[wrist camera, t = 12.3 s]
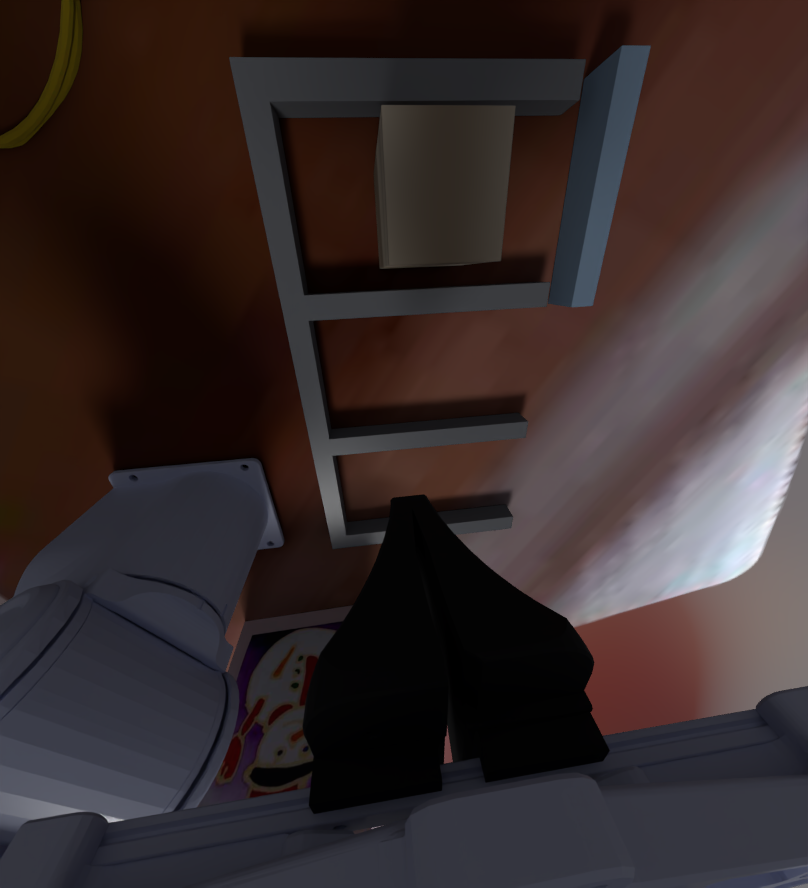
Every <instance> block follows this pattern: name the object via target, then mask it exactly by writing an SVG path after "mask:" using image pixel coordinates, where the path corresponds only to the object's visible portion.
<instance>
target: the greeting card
mask: <svg viewBox="0 0 808 888" xmlns="http://www.w3.org/2000/svg"><path fill="white" fill-rule="evenodd" d="M352 606H353V605H352ZM352 606H345V607H338V608H332V609H325V610H319V611H312V612H305V613H299V614H292V615H285V616H279V617H272V618H266V619H259V620H252V621H246V622H245V623H244V626H243V629H242V632H241V635H240V638H239V641H238V644H237V647H236V649H235V652H234V655H233V658H232V661H231V664H230V667H229V670H228V673H229V674H230V675H232V676H233V678H234V679H235V681H236V683H237V686H238V690H239V709H238V716H237V721H236V725H235V729H234V733H233V736H232V739H231V742H230V745H229V748H228V750H227V753H226V756H225V758H224V760H223V763H222V765H221V767H220V769H219V771H218V773H217V775H216V777H215V779H214V781H213V782H212V784H211V786H210V787H209V789H208V791H207V792H206V794H205V796H204V797H203V799H202V800H201V802H200V803H199V805H198V806H197V807H202V806H207V805H213V804H219V803H224V802H230V801H236V800H241V799H247V798H253V797H258V796H264V795H270V794H275V793H281V792H287V791H292V790H298V789H304V788H310V786H311V777H312V767H313V757H314V756H313V754H312V752H311V750H310V747H309V745H308V743H307V741H306V738H305V736H304V734H303V727H302V725H303V718H304V710H305V703H306V697H307V693H308V689H309V685H310V681H311V678H312V675H313V672H314V669H315V666H316V663H317V661H318V658H319V655H320V653H321V651H322V650H323V649H324V647H325V646H326V645H327V643H328V642H329V640H330V639H331V638H332V636H333V635H334V634H335V632H336V631H337V629H338V628H339V627H340V625H341V624H342V622H343V621H344V619H345V617H346V616H347V614H348V613H349V611H350V609H351V608H352ZM368 830H371V828H367V829H361V830H356V831H353V832H354V834H358V833H361V832H364V831H368Z"/></svg>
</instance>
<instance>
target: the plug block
mask: <svg viewBox="0 0 808 888" xmlns="http://www.w3.org/2000/svg"><path fill="white" fill-rule="evenodd" d="M515 107H516V106H492V105H381V112H380V121H379V130H378V139H377V148H376V157H375V166H374V187H375V203H376V218H377V234H378V250H379V266H380V269H386V268H412V267H437V266H456V265H466V264H476V263H486V262H496V261H501V254H502V243H503V233H504V222H505V212H506V201H507V191H508V180H509V170H510V159H511V149H512V138H513V128H514V117H515Z"/></svg>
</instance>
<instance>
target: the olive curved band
mask: <svg viewBox="0 0 808 888" xmlns="http://www.w3.org/2000/svg"><path fill="white" fill-rule="evenodd" d="M82 34H83V28H82V15H81V4H80V0H61V20H60V34H59V39H58V45H57V51H56V57H55V61H54V64H53V67H52V70H51V73H50V76H49V80H48V82H47V84H46V86H45V89H44V91H43V93H42V95H41V97H40V99H39V101H38V102H37V104H36V105H35V106H34V108H33V109H32V111H31V112H30V113H29V115H28V116H27V117H26V118H25V119H24V120H23V121H22V122H21V123H20V124H19V125H17V126H16V127H15V128H14V129H12V130H10V131H9V132H7V133H5V134H3V135H1V136H0V148H13V147H17V146H21V145H23V144H25V143H26V142H27V141H28V140H29V139H30V138H31V137H32V136H33V135H34V134H35V133H36V132H37V131H38V130H39V129H40V128H41V127H42V126H43V124H44V123H45V122H46V121H47V120H48V119H49V118H50V117H51V116H52V115H53V113H54V112H55V110H56V109H57V108H58V106H59V105H60V104H61V103H62V101H63V100H64V99H65V97H66V95H67V94H68V92H69V90H70V88H71V86H72V84H73V81H74V79H75V76H76V74H77V71H78V67H79V63H80V58H81V52H82Z"/></svg>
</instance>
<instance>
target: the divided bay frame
mask: <svg viewBox="0 0 808 888" xmlns="http://www.w3.org/2000/svg"><path fill="white" fill-rule="evenodd" d="M650 47H651V46H621V47H620V48H619V49H618V50H616V51H615V52H614V53H613V54H612V55H611V56H610V57H609V58H607V59H606V60H605V61H604V62H603V63H602V64H601V65H599V66H598V67H597V68H596V69H595V70H594V71H593V72H592V73H590V74H589V75H588V76H587V77H586V78H585V79H584V84H583V90H582V96H581V102H580V108H579V115H578V121H577V127H576V133H575V140H574V146H573V152H572V158H571V164H570V171H569V177H568V183H567V189H566V196H565V202H564V208H563V214H562V220H561V227H560V233H559V239H558V245H557V251H556V258H555V264H554V270H553V276H552V283H551V289H550V295H549V301H548V304H555V305H561V306H567V307H581V306H593V302H594V297H595V293H596V288H597V284H598V279H599V275H600V270H601V266H602V262H603V257H604V253H605V248H606V244H607V239H608V235H609V230H610V226H611V221H612V217H613V212H614V208H615V203H616V199H617V194H618V190H619V185H620V181H621V176H622V172H623V167H624V163H625V159H626V154H627V150H628V145H629V141H630V136H631V132H632V127H633V123H634V118H635V114H636V109H637V105H638V100H639V96H640V91H641V87H642V82H643V78H644V73H645V69H646V65H647V60H648V56H649V51H650ZM229 59H230V64H231V69H232V73H233V78H234V83H235V88H236V92H237V97H238V102H239V107H240V111H241V116H242V121H243V126H244V130H245V135H246V140H247V145H248V149H249V154H250V159H251V164H252V168H253V173H254V178H255V183H256V187H257V192H258V197H259V202H260V206H261V211H262V216H263V221H264V225H265V230H266V235H267V240H268V244H269V249H270V254H271V259H272V263H273V268H274V273H275V278H276V282H277V287H278V292H279V297H280V301H281V306H282V311H283V316H284V320H285V325H286V330H287V335H288V339H289V344H290V349H291V354H292V358H293V363H294V368H295V373H296V377H297V382H298V387H299V392H300V396H301V401H302V406H303V411H304V415H305V420H306V425H307V430H308V434H309V439H310V444H311V449H312V453H313V458H314V463H315V468H316V472H317V477H318V482H319V487H320V491H321V496H322V501H323V506H324V510H325V515H326V520H327V525H328V529H329V534H330V539H331V544H332V548H333V549H338V548H346V547H355V546H363V545H372V544H380V543H382V542H383V539H384V536H385V533H386V529H387V525H388V521H389V517H388V518H379V519H370V520H361V521H352V522H347V518H346V512H345V506H344V500H343V494H342V488H341V483H340V477H339V471H338V465H337V459H336V455H346V454H357V453H367V452H378V451H389V450H399V449H410V448H421V447H431V446H442V445H452V444H463V443H474V442H484V441H495V440H506V439H516V438H526V432H527V426H528V421H527V420H526V419H525V418H524V417H523V416H521V415H520V414H519V413H510V414H499V415H487V416H476V417H465V418H453V419H442V420H430V421H419V422H407V423H396V424H385V425H373V426H362V427H350V428H339V429H331V424H330V418H329V412H328V406H327V400H326V394H325V388H324V383H323V377H322V371H321V365H320V359H319V353H318V347H317V341H316V336H315V330H314V324H313V321H314V320H331V319H348V318H364V317H381V316H398V315H414V314H431V313H448V312H464V311H481V310H498V309H514V308H531V307H547V300H548V294H549V288H550V282H522V283H504V284H485V285H466V286H447V287H428V288H410V289H391V290H372V291H353V292H335V293H316V294H308V289H307V283H306V277H305V271H304V265H303V259H302V253H301V247H300V241H299V236H298V230H297V224H296V218H295V212H294V206H293V200H292V194H291V189H290V183H289V177H288V171H287V165H286V159H285V153H284V147H283V142H282V136H281V130H280V124H279V118H324V117H380V112H381V105H492V106H516V107H515V116H535V115H561V114H563V113H564V112H565V111H566V110H568V109H569V108H570V107H571V106H572V105H574V104H575V103H576V102H577V101H579V100H580V93H581V87H582V81H583V74H584V68H585V62H586V59H455V58H272V57H229ZM437 513H438V514H439V516H440V517H441V518H442V519H443V521H444V522H445V523H446V524H447V526H448V527H449V528H450V529H451V530H452V532H453V533H454V534H455V535H457V534H466V533H474V532H483V531H491V530H500V529H508V528H511V526H512V520H513V516H512V514H511V513H510V511H509V509H508V508H507V506H506V504H505V505H496V506H487V507H478V508H469V509H460V510H451V511H442V512H437Z"/></svg>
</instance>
